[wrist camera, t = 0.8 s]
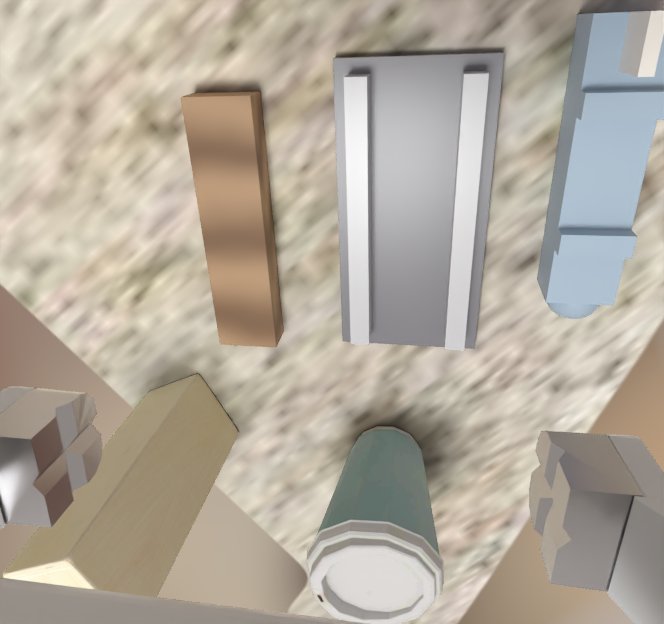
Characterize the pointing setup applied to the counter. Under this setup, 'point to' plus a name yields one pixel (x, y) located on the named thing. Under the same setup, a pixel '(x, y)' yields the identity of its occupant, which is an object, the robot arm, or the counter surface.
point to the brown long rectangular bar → (235, 214)
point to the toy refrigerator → (136, 497)
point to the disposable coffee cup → (378, 535)
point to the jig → (414, 194)
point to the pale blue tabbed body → (601, 157)
